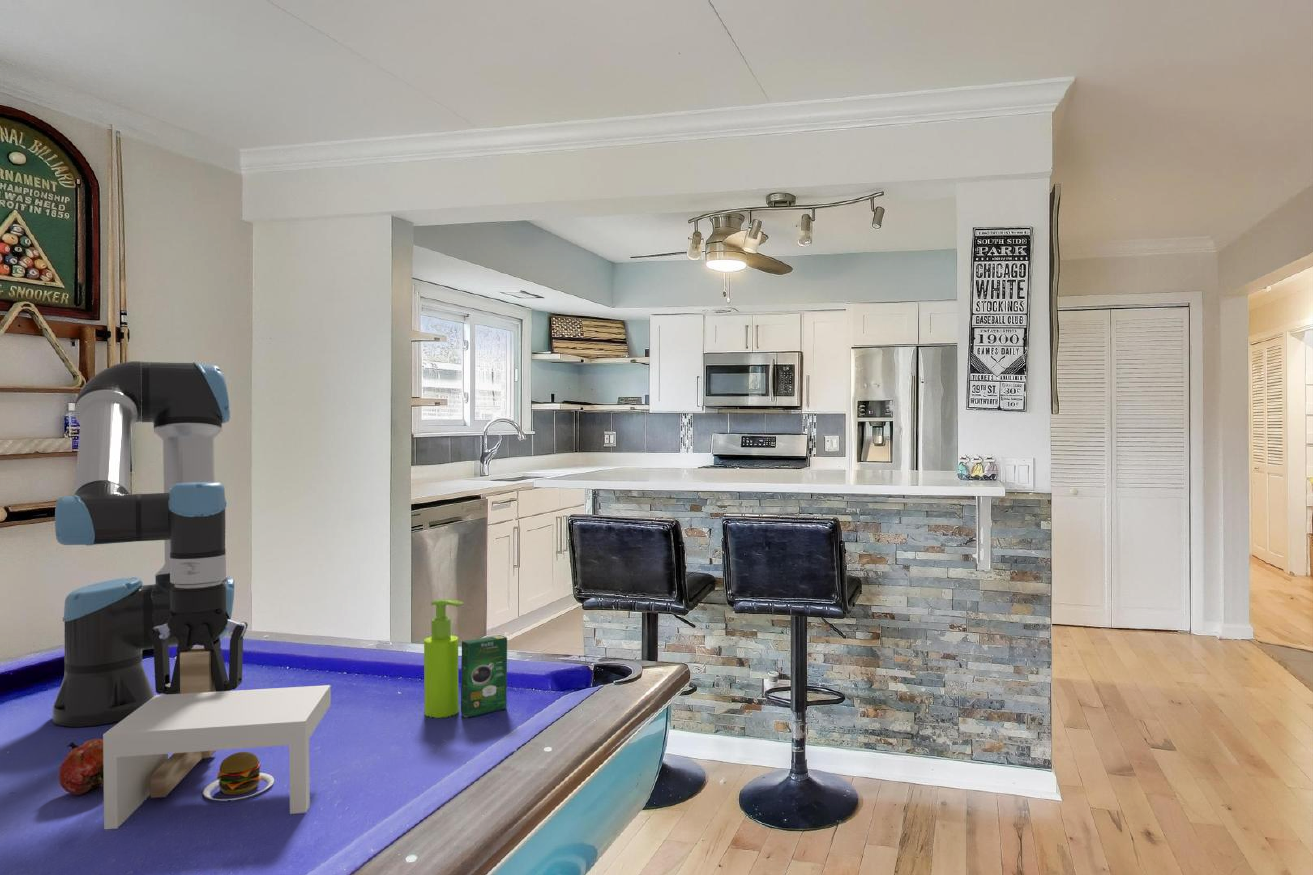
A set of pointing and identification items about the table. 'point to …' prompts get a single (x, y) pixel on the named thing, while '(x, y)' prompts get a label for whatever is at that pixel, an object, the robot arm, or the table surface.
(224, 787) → the hamburger
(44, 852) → the table surface
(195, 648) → the block
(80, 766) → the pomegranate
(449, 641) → the soap dispenser
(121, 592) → the robot arm
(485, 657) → the coffee box
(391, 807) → the table surface
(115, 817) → the shelf
